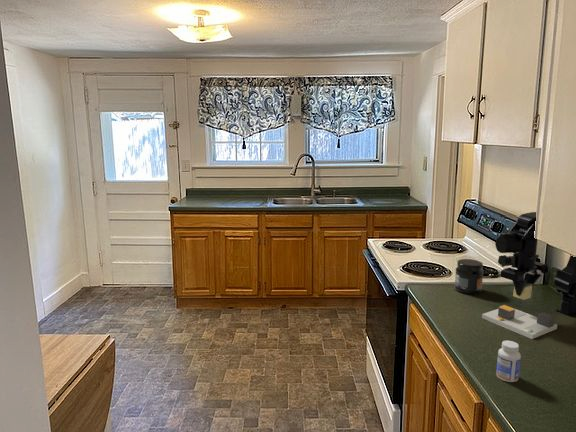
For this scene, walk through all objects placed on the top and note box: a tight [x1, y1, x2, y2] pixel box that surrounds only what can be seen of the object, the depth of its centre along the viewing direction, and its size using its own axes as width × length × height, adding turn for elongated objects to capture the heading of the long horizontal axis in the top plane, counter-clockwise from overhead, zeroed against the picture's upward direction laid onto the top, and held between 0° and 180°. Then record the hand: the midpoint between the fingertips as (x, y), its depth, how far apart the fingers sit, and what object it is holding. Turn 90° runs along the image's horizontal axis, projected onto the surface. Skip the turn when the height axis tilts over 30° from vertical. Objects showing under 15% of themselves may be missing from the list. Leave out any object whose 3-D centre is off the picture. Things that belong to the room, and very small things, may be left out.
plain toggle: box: [536, 311, 556, 327], centre depth 144 cm, size 3×4×3 cm
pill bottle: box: [496, 339, 522, 383], centre depth 116 cm, size 5×5×10 cm
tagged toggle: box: [498, 304, 516, 320], centre depth 149 cm, size 3×4×3 cm
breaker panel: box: [481, 308, 558, 340], centre depth 149 cm, size 14×18×2 cm
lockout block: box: [512, 282, 533, 301], centre depth 152 cm, size 4×4×5 cm
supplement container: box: [453, 258, 484, 295], centre depth 178 cm, size 10×10×12 cm
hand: (522, 294), depth 152 cm, fingers closed on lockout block, 4 cm apart
